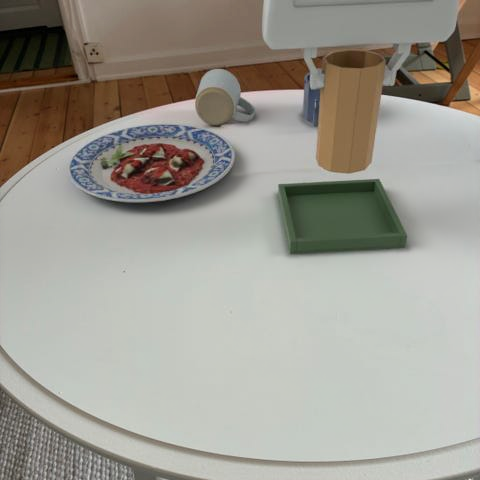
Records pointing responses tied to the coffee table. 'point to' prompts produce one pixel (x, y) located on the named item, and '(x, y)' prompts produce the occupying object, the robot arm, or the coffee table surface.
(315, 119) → the blue mug
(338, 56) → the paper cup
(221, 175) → the ceramic plate
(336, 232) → the green tray
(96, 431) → the coffee table surface
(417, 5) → the robot arm
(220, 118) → the ceramic mug
